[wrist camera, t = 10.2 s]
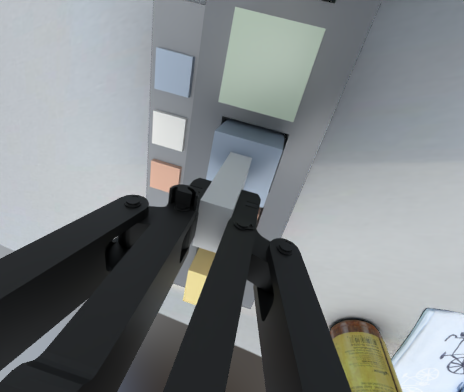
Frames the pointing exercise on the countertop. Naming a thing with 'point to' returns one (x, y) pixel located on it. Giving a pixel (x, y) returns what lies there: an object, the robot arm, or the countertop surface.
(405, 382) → the folded patterned cloth
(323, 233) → the countertop surface
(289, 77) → the key sage
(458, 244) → the countertop surface
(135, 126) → the countertop surface
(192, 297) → the key mustard
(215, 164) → the key slate
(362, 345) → the sauce bottle
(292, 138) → the keypad
